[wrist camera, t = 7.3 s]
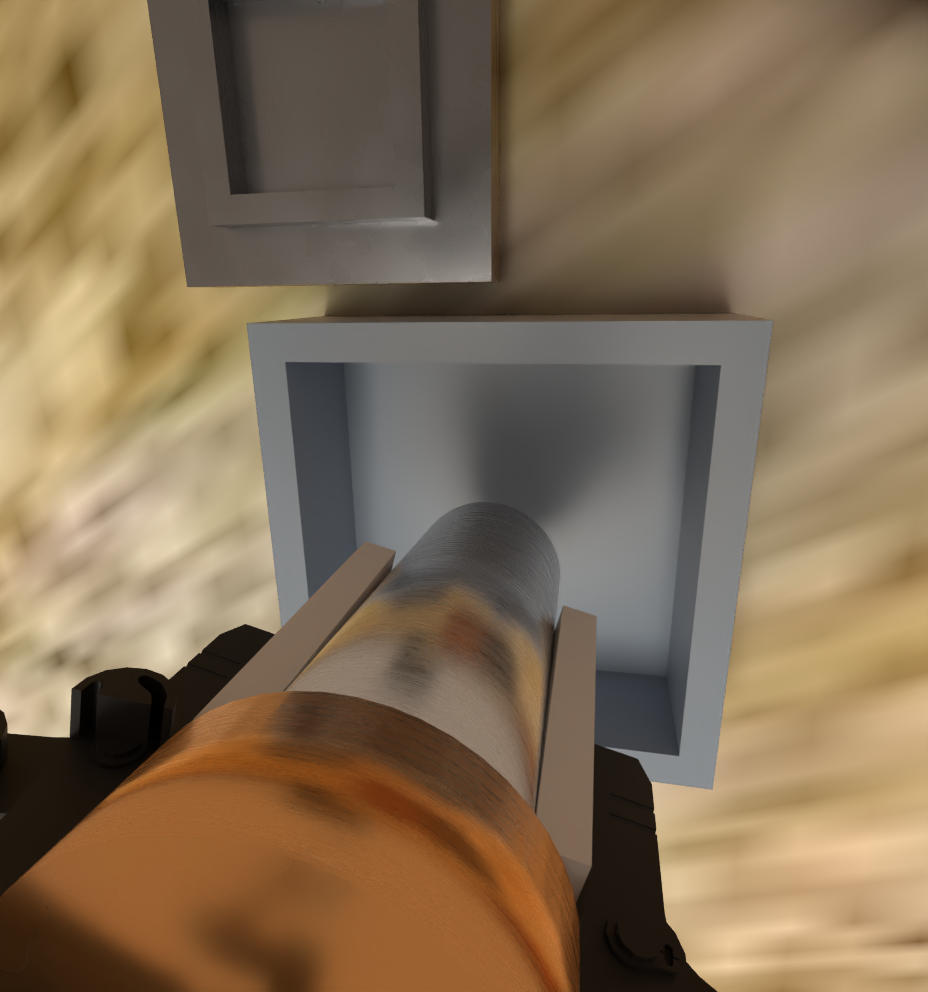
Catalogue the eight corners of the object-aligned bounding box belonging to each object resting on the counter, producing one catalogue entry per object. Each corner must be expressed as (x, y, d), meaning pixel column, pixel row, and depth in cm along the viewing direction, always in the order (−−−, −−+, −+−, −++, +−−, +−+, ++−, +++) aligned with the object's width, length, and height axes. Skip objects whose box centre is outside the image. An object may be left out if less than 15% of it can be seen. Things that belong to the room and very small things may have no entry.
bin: (323, 316, 22) (246, 323, 17) (731, 313, 19) (773, 320, 14) (350, 652, 25) (293, 733, 21) (690, 688, 23) (712, 789, 18)
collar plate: (168, -66, 19) (108, -115, 17) (500, -113, 17) (483, -177, 15) (213, 287, 22) (167, 286, 20) (499, 281, 20) (485, 280, 18)
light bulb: (362, 533, 18) (-149, 949, 5) (523, 445, 17) (333, 731, 4) (453, 687, 18) (180, 1388, 6) (617, 614, 17) (708, 1326, 5)
